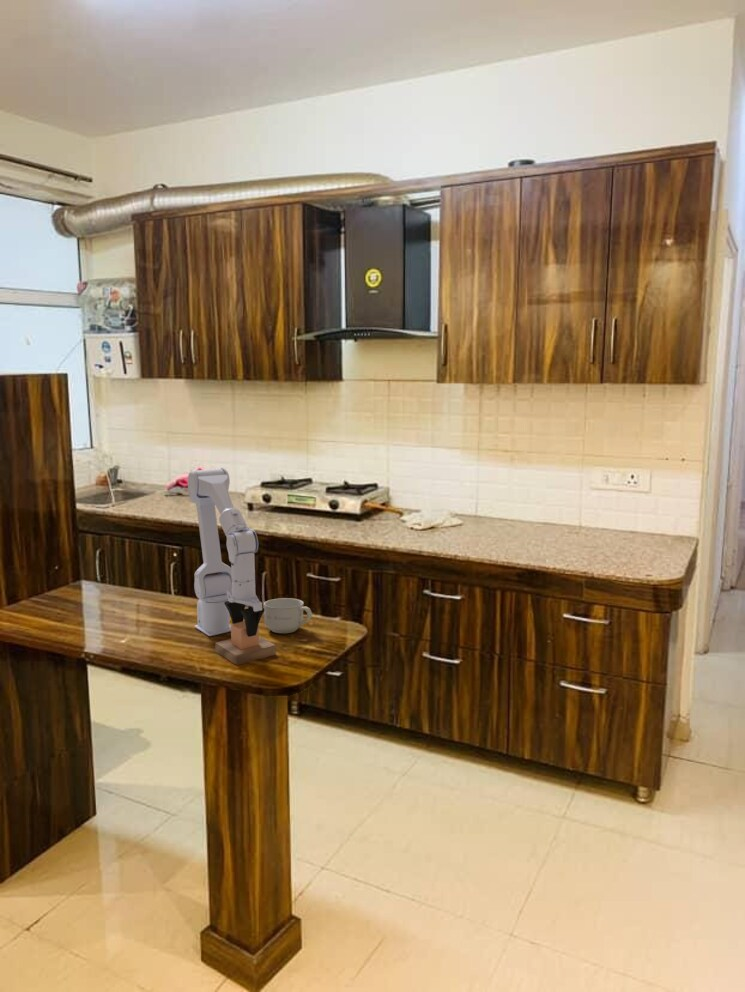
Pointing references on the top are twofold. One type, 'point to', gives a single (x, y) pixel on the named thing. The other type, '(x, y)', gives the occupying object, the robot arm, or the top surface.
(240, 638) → the terracotta block
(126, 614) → the top surface
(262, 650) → the walnut slab
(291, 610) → the teacup
